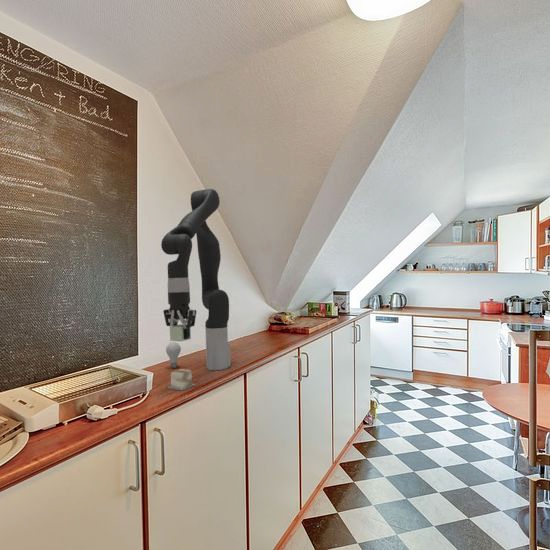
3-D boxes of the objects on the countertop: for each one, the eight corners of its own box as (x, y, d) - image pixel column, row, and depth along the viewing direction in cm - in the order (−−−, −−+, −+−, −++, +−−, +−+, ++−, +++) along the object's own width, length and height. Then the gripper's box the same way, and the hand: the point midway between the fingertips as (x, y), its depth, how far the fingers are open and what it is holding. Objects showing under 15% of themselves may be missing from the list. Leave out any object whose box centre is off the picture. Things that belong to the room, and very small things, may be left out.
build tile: (181, 382, 130) (181, 381, 130) (196, 385, 126) (196, 383, 126) (166, 388, 124) (166, 387, 124) (182, 391, 120) (182, 389, 120)
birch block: (181, 382, 128) (180, 368, 128) (191, 384, 126) (191, 370, 126) (171, 386, 124) (170, 372, 124) (181, 388, 122) (181, 374, 122)
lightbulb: (175, 365, 155) (175, 340, 155) (184, 367, 152) (183, 341, 152) (163, 368, 151) (162, 342, 151) (172, 370, 147) (171, 344, 147)
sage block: (180, 338, 128) (179, 324, 128) (190, 338, 126) (190, 324, 126) (170, 340, 124) (169, 326, 124) (180, 341, 122) (180, 327, 122)
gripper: (156, 291, 125) (158, 339, 125) (186, 291, 118) (188, 341, 118) (171, 290, 132) (173, 335, 132) (201, 289, 125) (203, 337, 125)
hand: (180, 338), depth 125 cm, fingers closed on sage block, 5 cm apart
